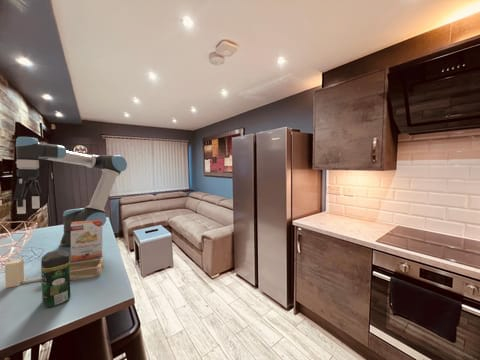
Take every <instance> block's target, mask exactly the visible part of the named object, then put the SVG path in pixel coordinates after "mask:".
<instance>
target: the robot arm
mask: <svg viewBox="0 0 480 360" xmlns="http://www.w3.org/2000/svg"><path fill="white" fill-rule="evenodd" d="M15 150H16V151H15V152H16V161H15V164H16V168H18V169H16V176H17V177H19V178H17V180H16V185H15V190H14V194H13V196H12V197H13V201H16V211H17V212H16V214H17V215H23V214H24V215H25V214H27V208H26V206H27V205H26V204H27V203H26V196H27V193H28V190H29V191H30V193H31V195H32V196H31V209H35V210H36V209H40V205H41V204H40V197H42V195H43V194H42V189H41V186H40V182H39V178H38V177H39V176H40V170H39V168H40V161H39V160H47V161H53V162H59V163H65V164H71V165H79V166H86V167H87V168H90V169H95V170H100V171H101V172H102V174H101V177H100V178H99V181H98V183H97V186H96V188H95V190H94V193H93V195H92V197H91V200H90V202H89V205H87V206H85V207H81V208H74V209H67V210H65V211H63V216H62V218H63V235H62V237H61V240H60V241H59V243H60V245H59V246H60V247H64V248H68V247H69V248H71V223H72V222H78V221H89V220H100V219H102V227H103V226H104V225H105V224H106V222H107V217H106V216H107V215H106V210H105V206H106V205H107V202H108V199H109V196H110V194H111V192H112V189H113V186H114V184H115V182H116V179H117V177H119V176H120V174H121V173H122V172H124V171H126V169H127V168H128V163H127V160H126V158H125V157H124V156H122V155H117V154H114V155H113V154H111V155H110V154H109V155H108V154H104V155H103V154H101V155H98V154H97V155H96V154H86V153H85V154H84V153H79V152H74V151H69V150H67V149H66V147H65V146H63V145H61V144H60V145H59V144H54V143H53V144H51V143H43V142H40V141H39V139H38V138H37V137H30V136H18V137H17V138H16V139H15ZM20 177H21V178H20Z"/></svg>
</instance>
